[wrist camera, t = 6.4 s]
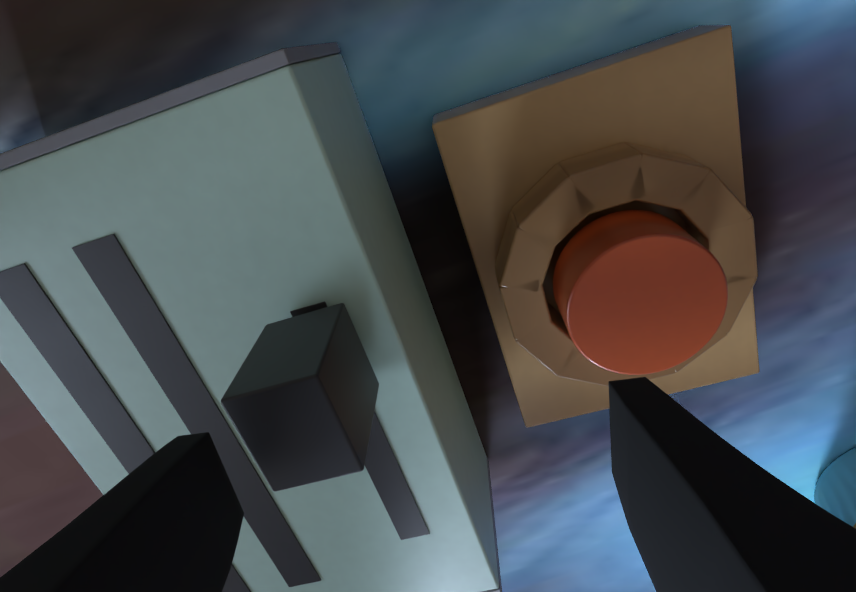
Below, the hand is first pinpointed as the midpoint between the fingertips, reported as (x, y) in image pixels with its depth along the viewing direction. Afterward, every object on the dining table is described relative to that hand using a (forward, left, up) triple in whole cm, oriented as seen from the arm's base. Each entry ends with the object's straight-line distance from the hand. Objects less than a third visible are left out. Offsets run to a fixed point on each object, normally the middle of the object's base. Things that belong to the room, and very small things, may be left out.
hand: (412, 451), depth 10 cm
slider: (0, +2, -4) cm, 4 cm away
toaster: (-1, +6, -10) cm, 11 cm away
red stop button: (-1, -6, -7) cm, 9 cm away
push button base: (-1, -5, -10) cm, 11 cm away
